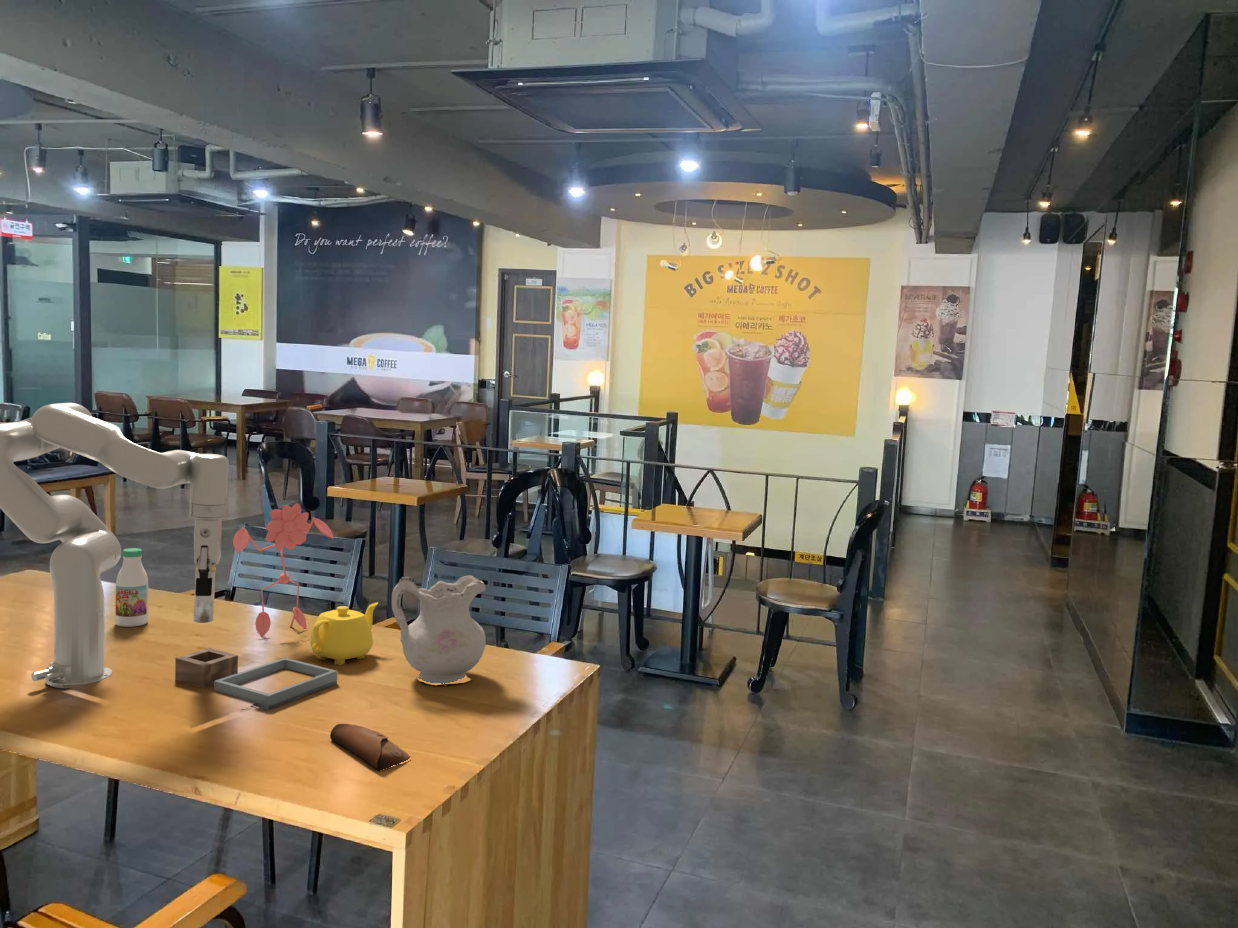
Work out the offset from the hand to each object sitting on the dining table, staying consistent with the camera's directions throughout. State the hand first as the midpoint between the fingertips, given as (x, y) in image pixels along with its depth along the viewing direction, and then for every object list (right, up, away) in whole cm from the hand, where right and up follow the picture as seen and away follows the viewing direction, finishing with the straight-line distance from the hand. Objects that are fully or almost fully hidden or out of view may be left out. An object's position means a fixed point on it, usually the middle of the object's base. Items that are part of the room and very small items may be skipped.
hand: (204, 592), depth 206 cm
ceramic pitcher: (+49, -22, +14) cm, 55 cm away
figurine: (+4, -17, +40) cm, 44 cm away
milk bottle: (-38, -14, +43) cm, 59 cm away
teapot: (+24, -20, +26) cm, 40 cm away
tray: (+16, -22, +1) cm, 27 cm away
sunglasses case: (+44, -27, -28) cm, 59 cm away
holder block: (0, -21, +2) cm, 21 cm away
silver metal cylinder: (-1, -6, +1) cm, 6 cm away
